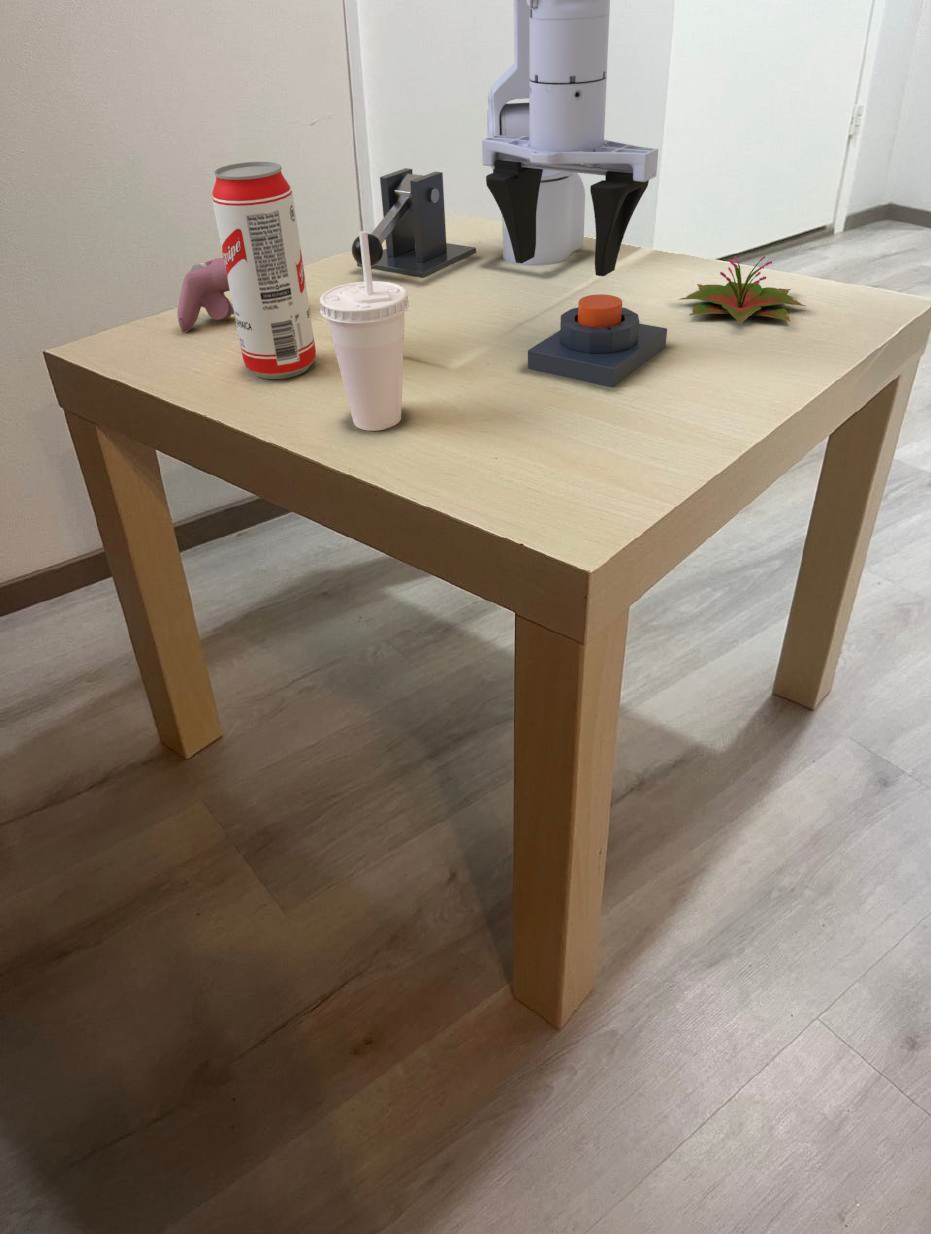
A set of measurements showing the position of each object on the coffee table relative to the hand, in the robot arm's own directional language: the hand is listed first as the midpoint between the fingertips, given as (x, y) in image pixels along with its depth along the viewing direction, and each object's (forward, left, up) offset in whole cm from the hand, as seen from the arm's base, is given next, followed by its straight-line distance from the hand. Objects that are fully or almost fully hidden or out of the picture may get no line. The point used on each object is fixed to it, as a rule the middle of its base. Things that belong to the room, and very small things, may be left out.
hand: (564, 266), depth 77 cm
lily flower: (-17, +9, -8) cm, 21 cm away
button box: (0, +3, -7) cm, 8 cm away
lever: (-11, -27, -3) cm, 29 cm away
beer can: (+15, -20, -8) cm, 26 cm away
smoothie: (+19, -6, -8) cm, 21 cm away
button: (0, +3, -4) cm, 5 cm away
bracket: (-14, -27, -7) cm, 31 cm away
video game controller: (+9, -32, -8) cm, 34 cm away
